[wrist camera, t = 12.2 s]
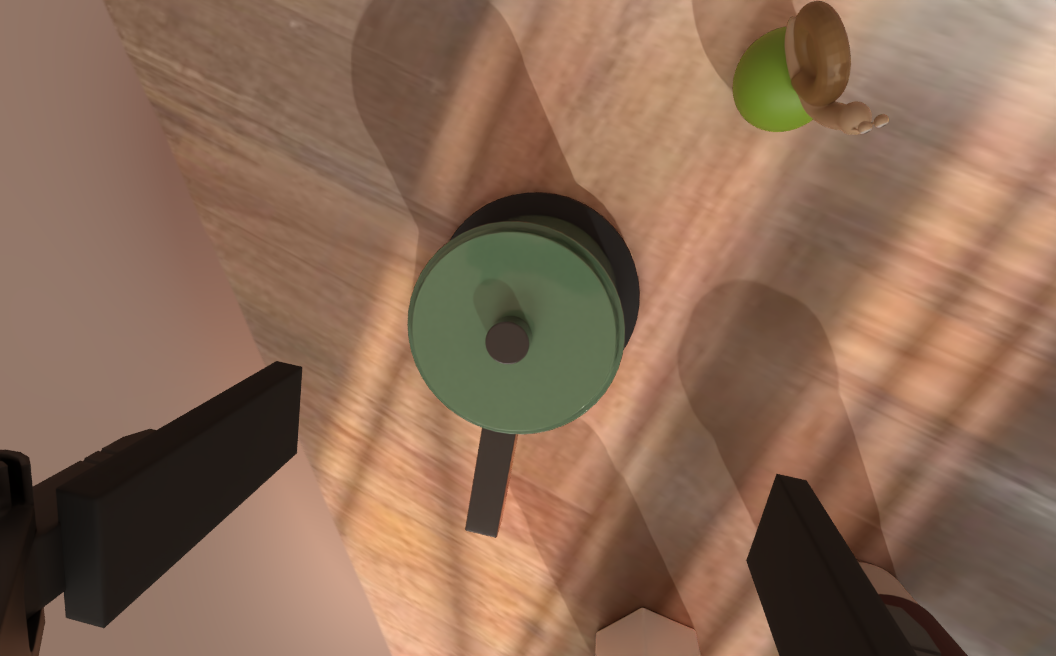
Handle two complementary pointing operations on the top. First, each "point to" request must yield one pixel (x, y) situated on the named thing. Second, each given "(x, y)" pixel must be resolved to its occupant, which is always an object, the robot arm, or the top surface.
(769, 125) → the snail figurine
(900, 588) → the coffee cup
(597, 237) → the trivet
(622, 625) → the jar
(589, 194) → the top surface
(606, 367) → the pot
